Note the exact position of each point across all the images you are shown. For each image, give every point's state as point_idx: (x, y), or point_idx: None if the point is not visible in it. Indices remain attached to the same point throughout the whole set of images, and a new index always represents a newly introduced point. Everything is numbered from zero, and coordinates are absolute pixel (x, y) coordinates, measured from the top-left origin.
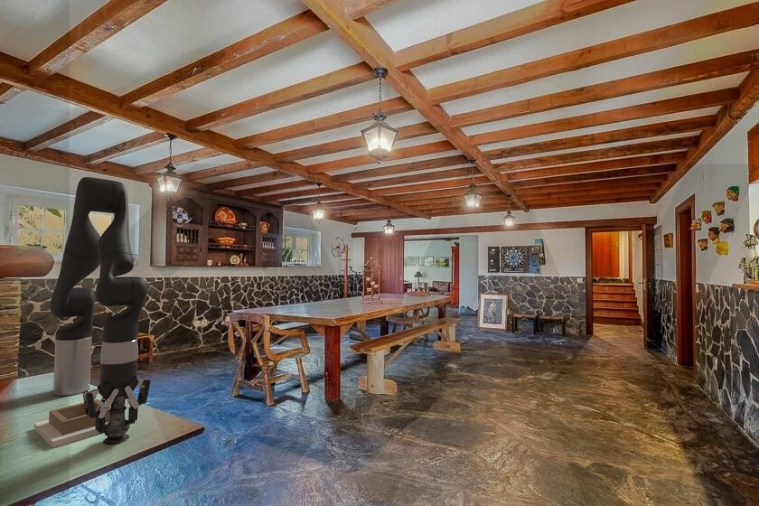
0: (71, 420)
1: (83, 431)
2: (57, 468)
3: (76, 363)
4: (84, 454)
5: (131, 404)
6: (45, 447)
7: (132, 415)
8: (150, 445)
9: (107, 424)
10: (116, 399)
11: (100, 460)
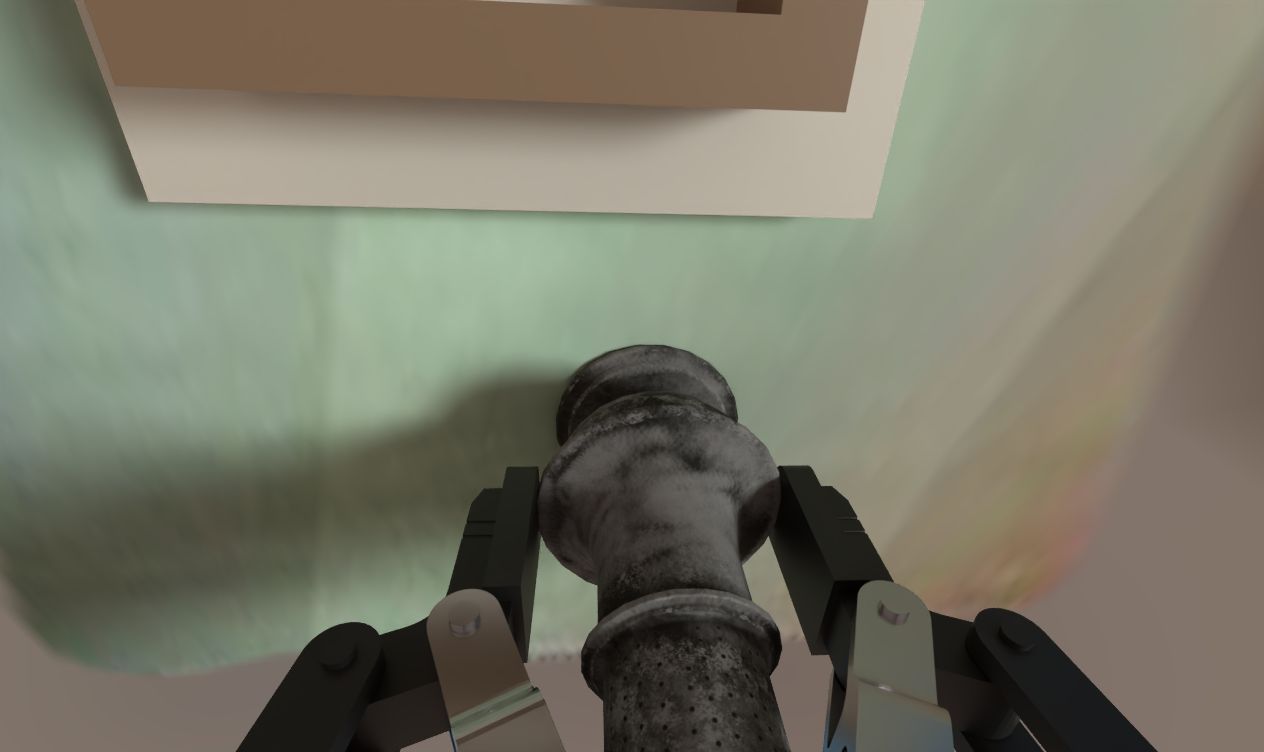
0: (246, 87)
1: (448, 178)
2: (249, 540)
3: None
4: (412, 482)
5: (829, 709)
6: None
7: (793, 594)
8: None
9: (581, 513)
10: None
11: None
